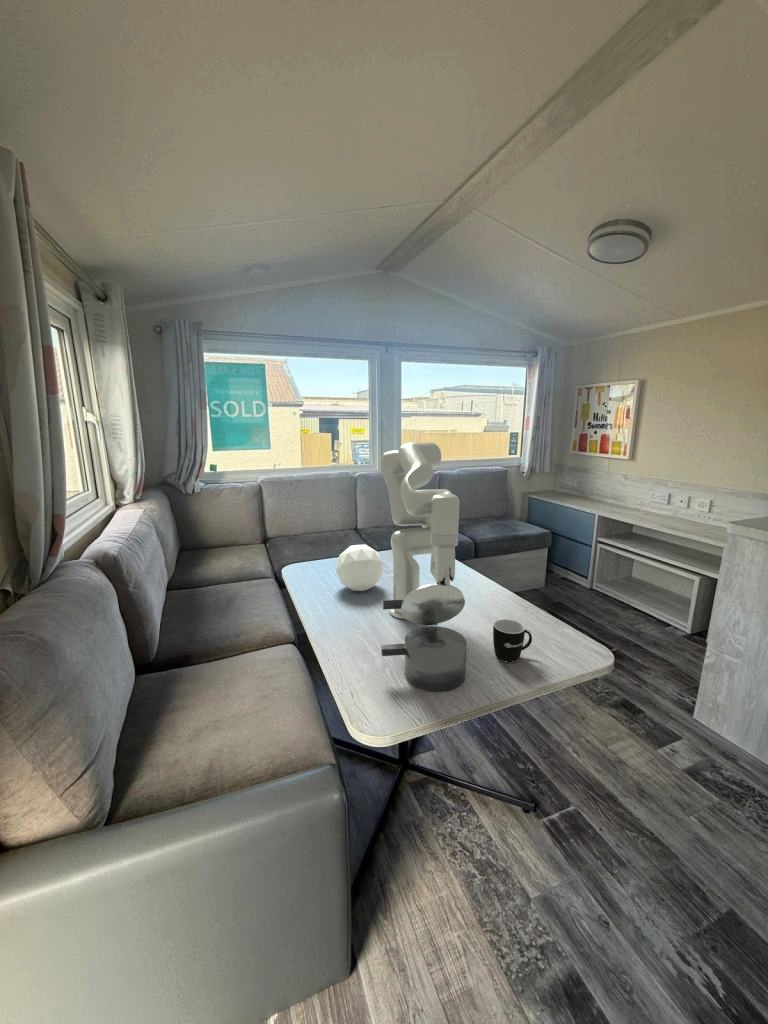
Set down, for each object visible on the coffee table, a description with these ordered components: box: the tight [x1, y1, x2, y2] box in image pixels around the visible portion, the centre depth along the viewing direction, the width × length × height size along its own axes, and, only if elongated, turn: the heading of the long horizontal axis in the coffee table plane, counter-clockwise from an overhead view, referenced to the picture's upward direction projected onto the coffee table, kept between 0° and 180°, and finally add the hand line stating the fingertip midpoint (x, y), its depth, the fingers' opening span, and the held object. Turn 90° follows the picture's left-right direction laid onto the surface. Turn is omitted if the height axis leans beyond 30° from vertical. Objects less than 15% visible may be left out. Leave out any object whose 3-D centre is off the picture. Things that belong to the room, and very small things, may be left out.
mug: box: [492, 618, 533, 663], centre depth 126 cm, size 12×9×10 cm
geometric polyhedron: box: [335, 543, 383, 592], centre depth 176 cm, size 19×20×20 cm
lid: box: [382, 583, 466, 627], centre depth 120 cm, size 19×23×2 cm
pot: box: [380, 625, 468, 693], centre depth 118 cm, size 17×24×10 cm
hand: (442, 600), depth 121 cm, fingers closed
